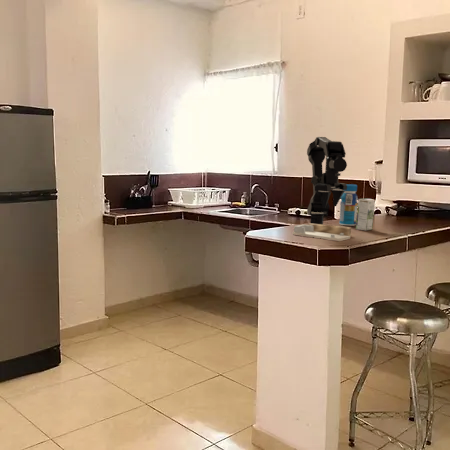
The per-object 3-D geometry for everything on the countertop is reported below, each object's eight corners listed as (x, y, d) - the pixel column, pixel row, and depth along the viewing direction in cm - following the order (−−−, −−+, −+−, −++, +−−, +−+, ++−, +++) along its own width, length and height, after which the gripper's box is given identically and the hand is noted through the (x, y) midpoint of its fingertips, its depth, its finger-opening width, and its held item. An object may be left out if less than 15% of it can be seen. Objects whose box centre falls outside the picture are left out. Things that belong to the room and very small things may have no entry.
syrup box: (361, 228, 263) (364, 198, 261) (372, 230, 259) (375, 199, 257) (355, 229, 259) (357, 198, 257) (366, 231, 255) (368, 199, 253)
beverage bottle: (335, 224, 275) (337, 184, 272) (346, 223, 280) (349, 184, 277) (348, 226, 268) (350, 185, 265) (359, 225, 273) (362, 185, 270)
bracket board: (304, 232, 243) (304, 224, 243) (350, 238, 230) (350, 230, 229) (292, 234, 236) (292, 226, 235) (339, 241, 222) (339, 232, 222)
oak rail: (308, 233, 243) (308, 224, 243) (311, 232, 247) (311, 223, 246) (347, 237, 234) (348, 228, 234) (350, 236, 238) (351, 227, 237)
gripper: (326, 169, 249) (324, 203, 251) (304, 169, 234) (302, 206, 237) (348, 170, 242) (346, 206, 244) (327, 171, 227) (325, 208, 230)
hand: (329, 206), depth 239 cm, fingers open, 9 cm apart
